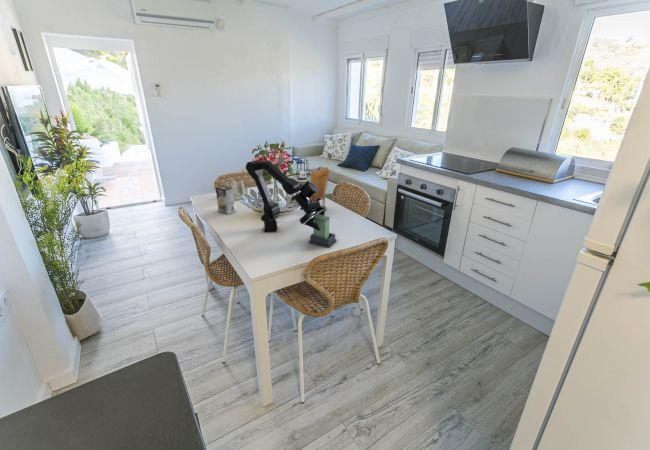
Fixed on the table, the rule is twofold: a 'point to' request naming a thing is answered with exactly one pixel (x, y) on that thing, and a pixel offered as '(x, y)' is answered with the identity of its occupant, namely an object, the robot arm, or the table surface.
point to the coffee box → (225, 199)
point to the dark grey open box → (323, 240)
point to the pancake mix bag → (319, 183)
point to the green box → (322, 226)
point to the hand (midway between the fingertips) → (323, 226)
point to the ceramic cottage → (238, 189)
